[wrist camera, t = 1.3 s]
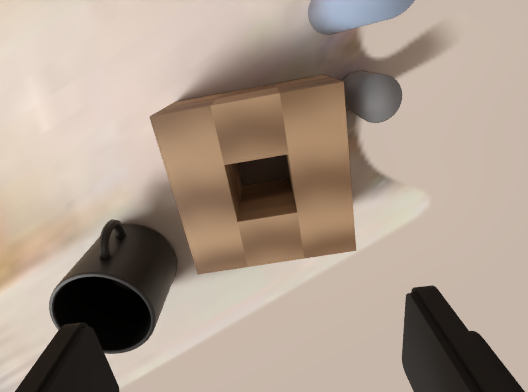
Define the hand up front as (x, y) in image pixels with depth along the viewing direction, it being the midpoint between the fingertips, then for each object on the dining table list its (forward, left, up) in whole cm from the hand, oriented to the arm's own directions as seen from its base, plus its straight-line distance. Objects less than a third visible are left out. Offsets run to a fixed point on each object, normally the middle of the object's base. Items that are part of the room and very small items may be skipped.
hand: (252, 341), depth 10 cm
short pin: (-3, +10, -25) cm, 27 cm away
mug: (+10, -16, -25) cm, 32 cm away
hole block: (+2, 0, -25) cm, 25 cm away
